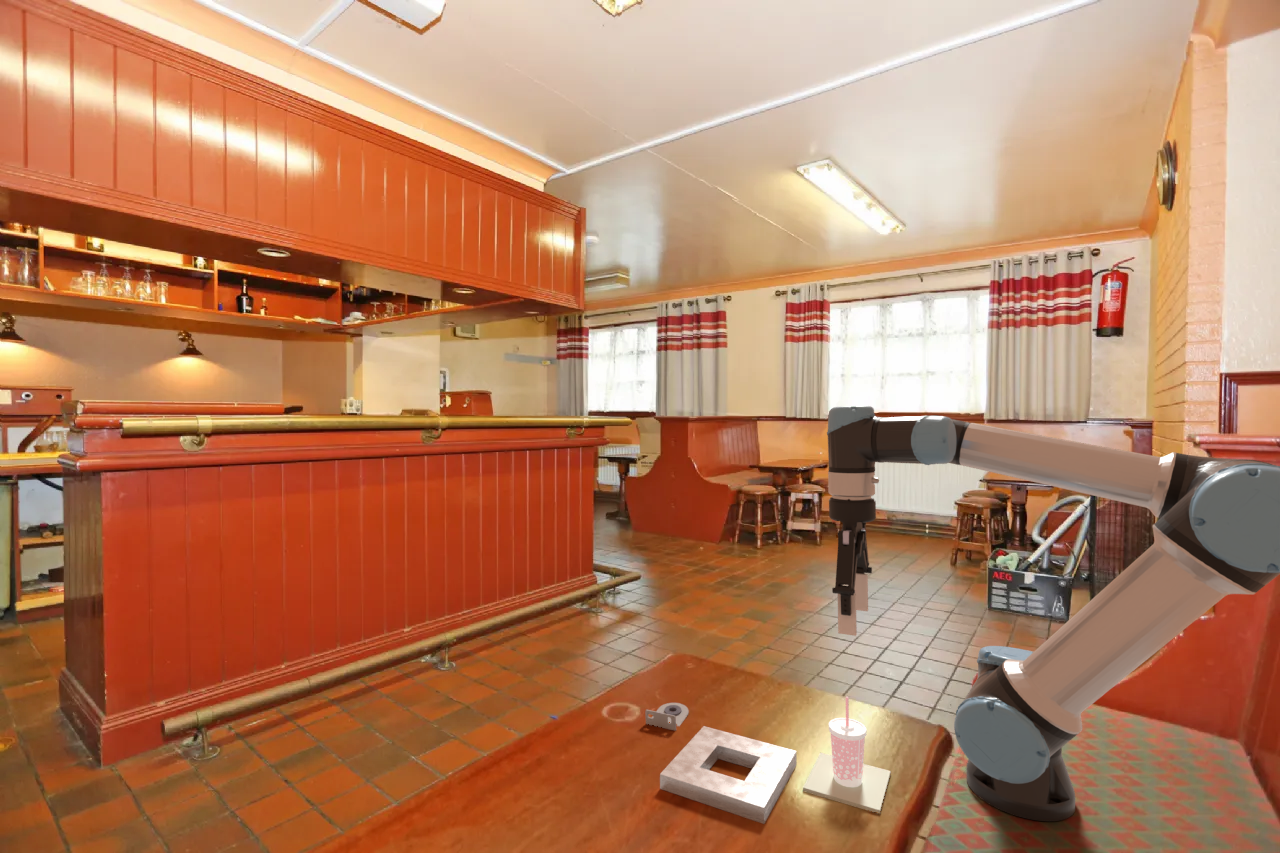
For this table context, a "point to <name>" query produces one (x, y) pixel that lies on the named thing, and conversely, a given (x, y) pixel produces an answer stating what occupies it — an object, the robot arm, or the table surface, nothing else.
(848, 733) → the beverage cup
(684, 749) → the white square frame
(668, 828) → the table surface
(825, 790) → the beige pad
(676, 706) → the bracket
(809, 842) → the table surface
